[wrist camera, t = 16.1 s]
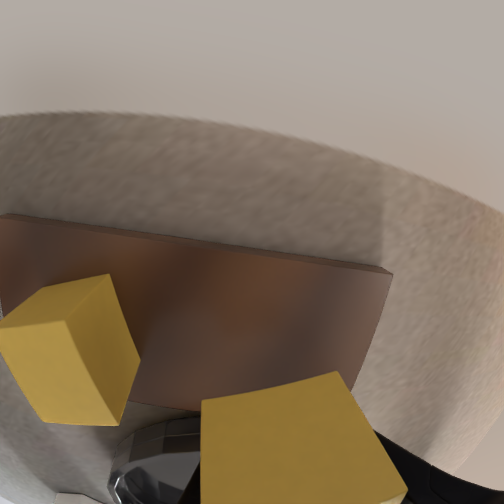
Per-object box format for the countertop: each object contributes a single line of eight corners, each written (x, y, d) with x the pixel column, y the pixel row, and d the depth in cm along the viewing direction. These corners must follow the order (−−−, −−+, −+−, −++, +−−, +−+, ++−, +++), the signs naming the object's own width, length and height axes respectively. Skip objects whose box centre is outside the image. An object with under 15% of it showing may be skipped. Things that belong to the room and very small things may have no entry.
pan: (322, 385, 16) (340, 421, 13) (324, 494, 20) (332, 518, 17) (77, 416, 15) (63, 449, 12) (163, 515, 19) (161, 539, 16)
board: (381, 267, 14) (393, 274, 13) (334, 401, 16) (340, 413, 15) (8, 213, 11) (-6, 216, 10) (23, 356, 13) (15, 366, 12)
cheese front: (337, 369, 8) (409, 489, 3) (336, 451, 9) (376, 541, 5) (200, 399, 8) (200, 541, 3) (234, 475, 9) (246, 573, 4)
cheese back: (110, 272, 12) (64, 319, 7) (141, 360, 13) (119, 426, 8) (42, 287, 11) (-11, 329, 7) (75, 365, 12) (42, 422, 8)
